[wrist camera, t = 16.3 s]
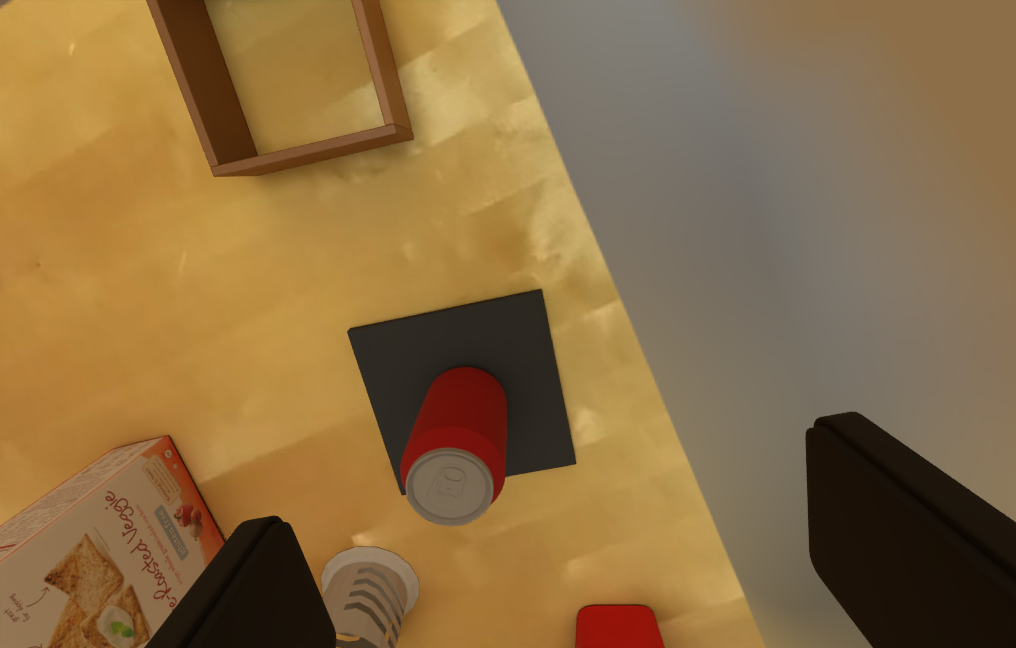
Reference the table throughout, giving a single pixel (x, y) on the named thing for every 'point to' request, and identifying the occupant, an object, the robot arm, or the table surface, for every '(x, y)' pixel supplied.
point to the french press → (368, 595)
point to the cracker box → (105, 553)
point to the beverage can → (457, 448)
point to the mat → (478, 344)
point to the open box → (219, 108)
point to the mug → (617, 627)
